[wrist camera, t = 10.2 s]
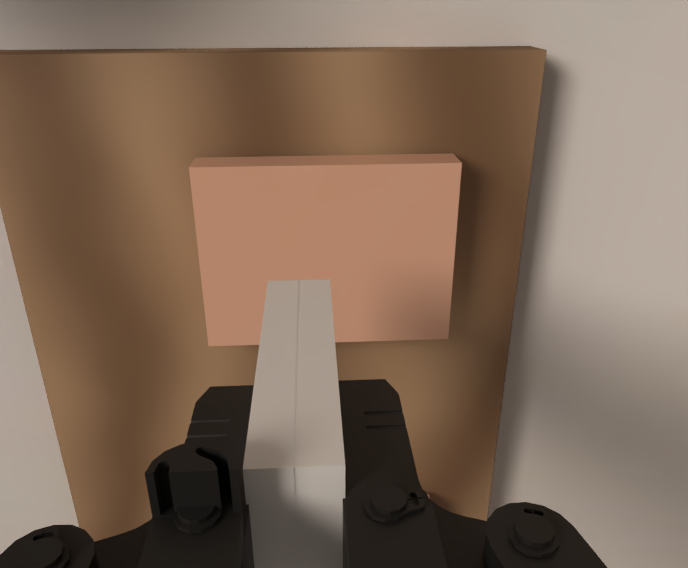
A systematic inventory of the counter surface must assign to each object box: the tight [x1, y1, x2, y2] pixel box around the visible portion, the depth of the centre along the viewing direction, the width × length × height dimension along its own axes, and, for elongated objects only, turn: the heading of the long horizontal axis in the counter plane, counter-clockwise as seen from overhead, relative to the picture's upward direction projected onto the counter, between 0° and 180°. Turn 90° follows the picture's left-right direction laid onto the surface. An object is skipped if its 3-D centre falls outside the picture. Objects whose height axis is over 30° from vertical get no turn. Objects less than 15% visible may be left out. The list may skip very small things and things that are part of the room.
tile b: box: [189, 153, 462, 346], centre depth 20 cm, size 2×6×8 cm
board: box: [0, 46, 547, 542], centre depth 24 cm, size 17×26×2 cm, turn 0°
